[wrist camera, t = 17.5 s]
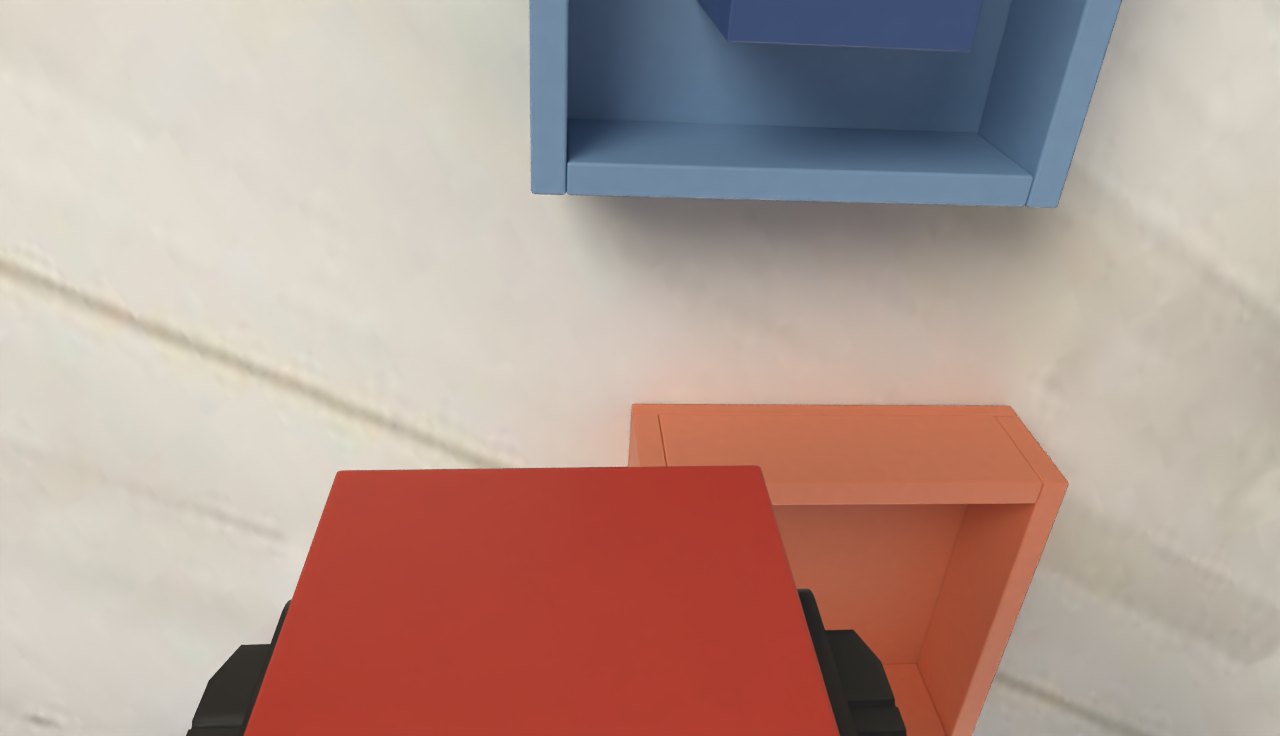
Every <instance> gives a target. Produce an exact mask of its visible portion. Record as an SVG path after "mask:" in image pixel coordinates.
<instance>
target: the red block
mask: <svg viewBox="0 0 1280 736" xmlns="http://www.w3.org/2000/svg"><path fill="white" fill-rule="evenodd" d="M244 736H840V734H839V730H838V727H837V724H836V720H835V717H834V713H833V710H832V707H831V703H830V700H829V696H828V693H827V690H826V686H825V683H824V680H823V676H822V673H821V669H820V666H819V663H818V659H817V656H816V652H815V649H814V646H813V642H812V639H811V635H810V632H809V629H808V625H807V622H806V618H805V615H804V612H803V608H802V605H801V601H800V598H799V595H798V591H797V588H796V585H795V581H794V578H793V574H792V571H791V568H790V564H789V561H788V557H787V554H786V551H785V547H784V544H783V540H782V537H781V534H780V530H779V527H778V523H777V520H776V517H775V513H774V510H773V506H772V503H771V500H770V496H769V493H768V490H767V486H766V483H765V479H764V476H763V473H762V470H761V467H760V466H757V465H736V466H659V467H581V468H503V469H425V470H347V471H339V472H337V474H336V477H335V479H334V482H333V485H332V488H331V491H330V493H329V496H328V499H327V502H326V505H325V508H324V510H323V513H322V516H321V519H320V522H319V524H318V527H317V530H316V533H315V536H314V539H313V541H312V544H311V547H310V550H309V553H308V556H307V558H306V561H305V564H304V567H303V570H302V572H301V575H300V578H299V581H298V584H297V587H296V589H295V592H294V595H293V598H292V601H291V604H290V606H289V609H288V612H287V615H286V618H285V620H284V623H283V626H282V629H281V632H280V635H279V637H278V640H277V643H276V646H275V649H274V651H273V654H272V657H271V660H270V663H269V666H268V668H267V671H266V674H265V677H264V680H263V683H262V685H261V688H260V691H259V694H258V697H257V699H256V702H255V705H254V708H253V711H252V714H251V716H250V719H249V722H248V725H247V728H246V731H245V733H244Z"/></svg>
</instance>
